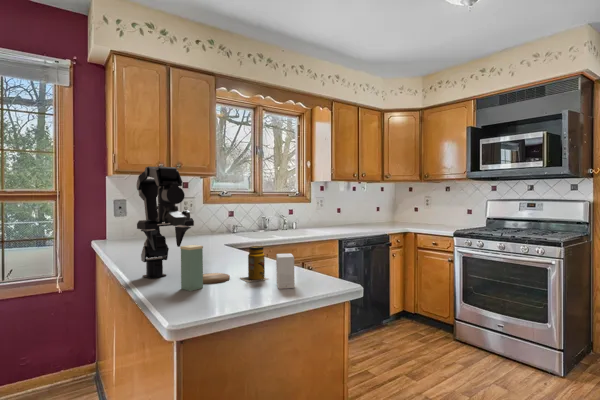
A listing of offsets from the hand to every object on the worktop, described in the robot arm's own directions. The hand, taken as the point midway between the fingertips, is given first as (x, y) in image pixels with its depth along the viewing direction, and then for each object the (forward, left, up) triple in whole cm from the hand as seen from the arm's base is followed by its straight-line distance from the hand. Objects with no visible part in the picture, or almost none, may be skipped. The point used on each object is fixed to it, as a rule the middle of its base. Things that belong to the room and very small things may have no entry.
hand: (166, 248), depth 125 cm
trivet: (+6, +15, -13) cm, 20 cm away
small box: (+34, +24, -13) cm, 43 cm away
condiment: (+18, +25, -13) cm, 33 cm away
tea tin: (+11, +3, -13) cm, 17 cm away
